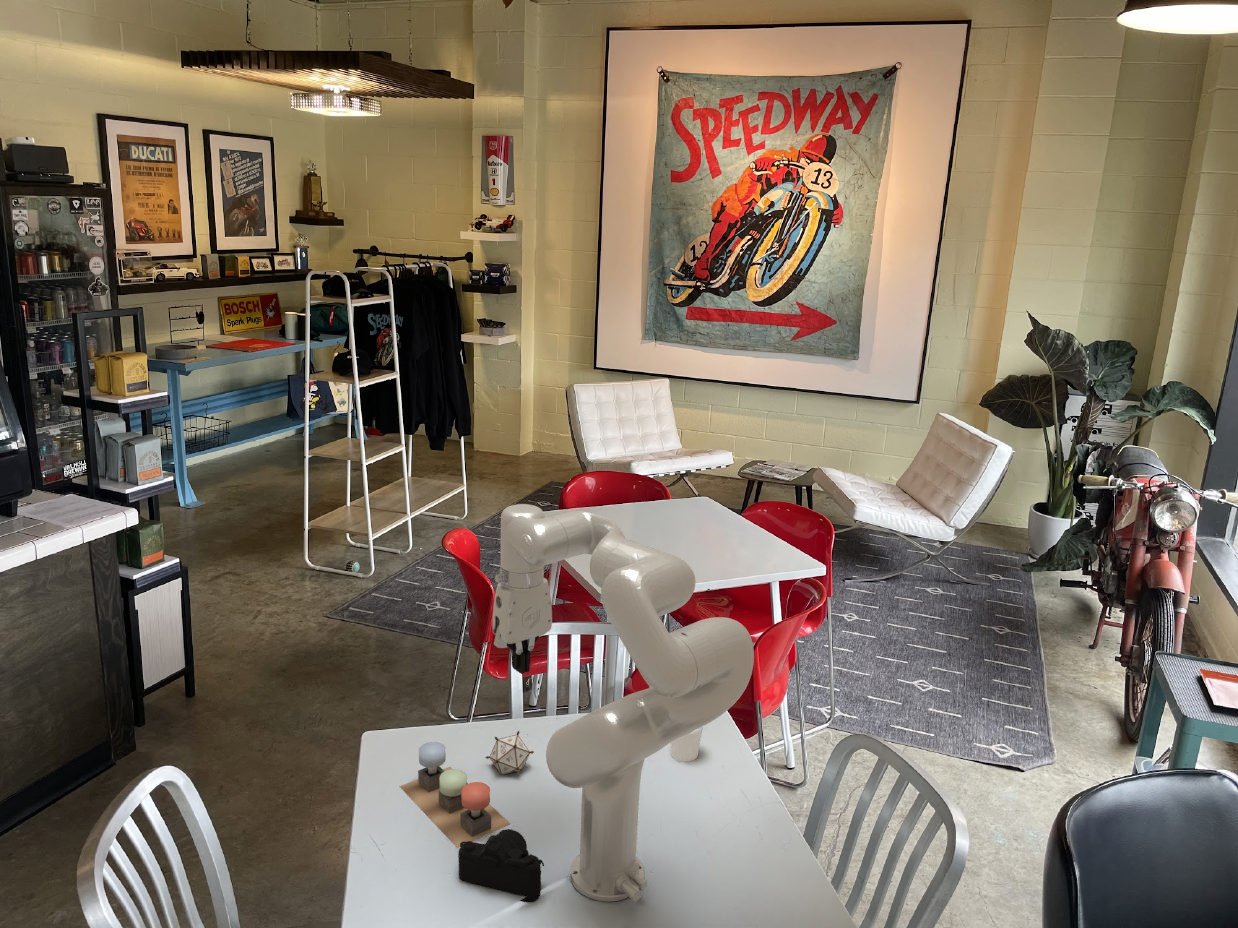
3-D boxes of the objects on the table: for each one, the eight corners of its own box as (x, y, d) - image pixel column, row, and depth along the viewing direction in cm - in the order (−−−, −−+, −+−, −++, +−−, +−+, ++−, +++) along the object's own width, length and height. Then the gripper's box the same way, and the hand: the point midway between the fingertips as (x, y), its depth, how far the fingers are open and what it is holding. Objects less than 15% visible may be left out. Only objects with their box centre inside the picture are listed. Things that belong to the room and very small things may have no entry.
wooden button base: (510, 829, 169) (510, 811, 168) (457, 853, 163) (457, 834, 162) (450, 771, 186) (449, 754, 185) (399, 791, 179) (399, 774, 178)
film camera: (555, 869, 160) (557, 824, 158) (535, 908, 151) (536, 861, 149) (474, 850, 164) (474, 806, 161) (450, 886, 155) (449, 840, 152)
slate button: (450, 773, 179) (450, 750, 177) (427, 782, 176) (426, 759, 174) (437, 761, 182) (437, 738, 181) (414, 770, 179) (414, 747, 178)
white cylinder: (664, 759, 193) (666, 729, 191) (672, 742, 199) (674, 713, 197) (696, 766, 191) (698, 736, 189) (703, 748, 197) (705, 719, 195)
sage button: (472, 801, 173) (472, 778, 172) (448, 811, 170) (448, 788, 169) (458, 788, 177) (458, 765, 176) (434, 798, 174) (434, 775, 172)
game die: (516, 792, 186) (529, 773, 179) (477, 777, 185) (488, 757, 178) (529, 751, 192) (542, 732, 185) (491, 736, 192) (502, 716, 184)
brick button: (495, 816, 167) (495, 791, 166) (470, 826, 164) (470, 802, 162) (480, 802, 171) (480, 778, 169) (456, 812, 167) (456, 788, 166)
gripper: (497, 592, 155) (496, 690, 160) (569, 572, 164) (566, 666, 169) (473, 577, 160) (473, 673, 165) (544, 559, 170) (543, 650, 175)
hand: (520, 669), depth 167 cm, fingers closed
